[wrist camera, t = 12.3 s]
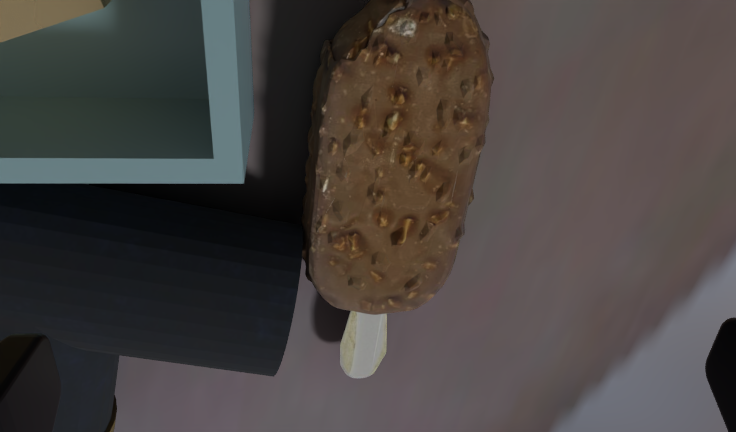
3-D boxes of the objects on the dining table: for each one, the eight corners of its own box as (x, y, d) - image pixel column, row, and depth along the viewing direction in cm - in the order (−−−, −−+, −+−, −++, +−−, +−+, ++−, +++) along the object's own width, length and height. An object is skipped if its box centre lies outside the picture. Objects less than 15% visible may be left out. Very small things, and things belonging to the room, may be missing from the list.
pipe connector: (231, 539, 24) (-252, 499, 21) (242, 425, 28) (-153, 377, 25) (303, 287, 19) (-335, 180, 15) (301, 195, 23) (-191, 98, 20)
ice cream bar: (441, 365, 27) (537, -20, 19) (399, 444, 23) (497, 9, 15) (323, 317, 28) (367, -57, 20) (267, 384, 25) (293, -38, 17)
